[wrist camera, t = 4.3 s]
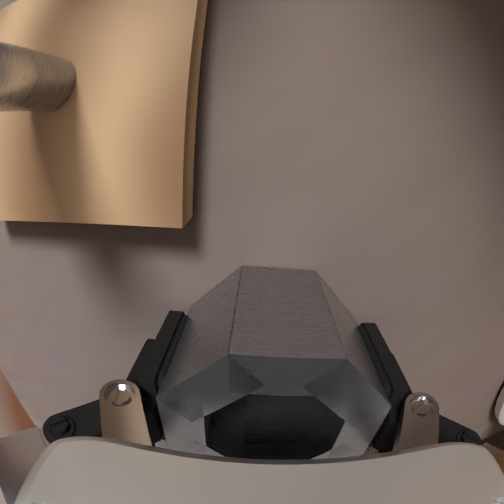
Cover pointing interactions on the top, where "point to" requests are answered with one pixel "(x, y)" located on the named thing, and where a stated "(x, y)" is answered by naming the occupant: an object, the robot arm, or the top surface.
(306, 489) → the robot arm
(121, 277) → the top surface
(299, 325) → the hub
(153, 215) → the shaft block
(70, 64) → the shaft
